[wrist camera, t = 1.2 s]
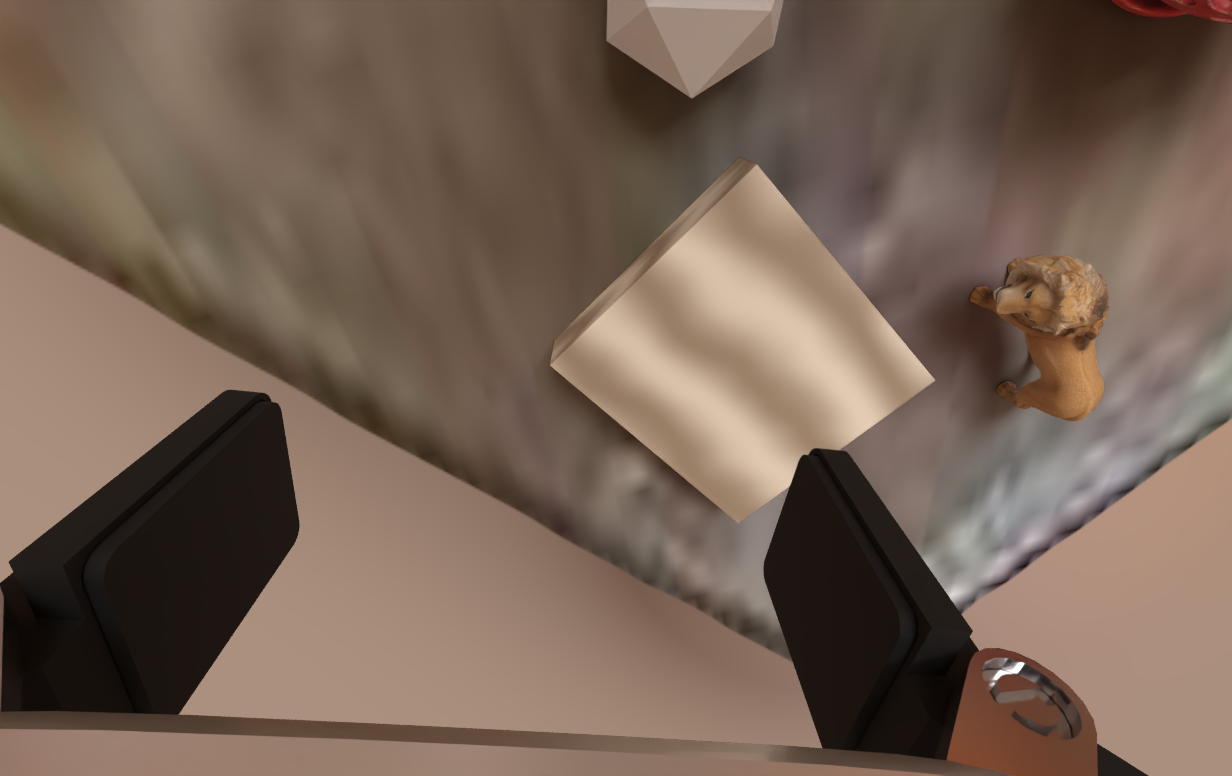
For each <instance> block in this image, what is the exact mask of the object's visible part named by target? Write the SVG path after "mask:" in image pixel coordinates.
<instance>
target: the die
mask: <svg viewBox="0 0 1232 776" xmlns="http://www.w3.org/2000/svg"><path fill="white" fill-rule="evenodd" d="M783 1H784V0H607V42H609V43H610V44H612V45H613V46H615V47H616V48H618V49H619V50H621V51H622V52H624V53H625V54H627V55H628V56H630V57H631V58H633V59H634V60H636V61H637V62H638V63H640V64H641V65H643V66H644V67H646V68H647V69H649V70H650V71H652V72H653V73H655V74H656V75H658V76H659V77H661V78H662V79H664V80H665V81H667V82H668V83H669V84H671V85H672V86H674V87H675V88H677V89H678V90H680V91H681V92H683V93H684V94H686V95H687V96H689V97H690V98H693V97H695V96H697V95H698V94H700V93H701V92H703V91H704V90H706V89H707V88H709V87H711V86H712V85H714V84H715V83H717V82H718V81H720V80H722V79H723V78H725V77H726V76H728V75H729V74H731V73H732V72H734V71H736V70H737V69H739V68H740V67H742V66H743V65H745V64H747V63H748V62H750V61H751V60H753V59H754V58H756V57H758V56H759V55H761V54H762V53H764V52H765V51H767V50H768V49H770V48H772V47H773V46H774V42H775V38H776V33H777V28H778V24H779V19H780V15H781V10H782V6H783Z"/></svg>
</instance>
